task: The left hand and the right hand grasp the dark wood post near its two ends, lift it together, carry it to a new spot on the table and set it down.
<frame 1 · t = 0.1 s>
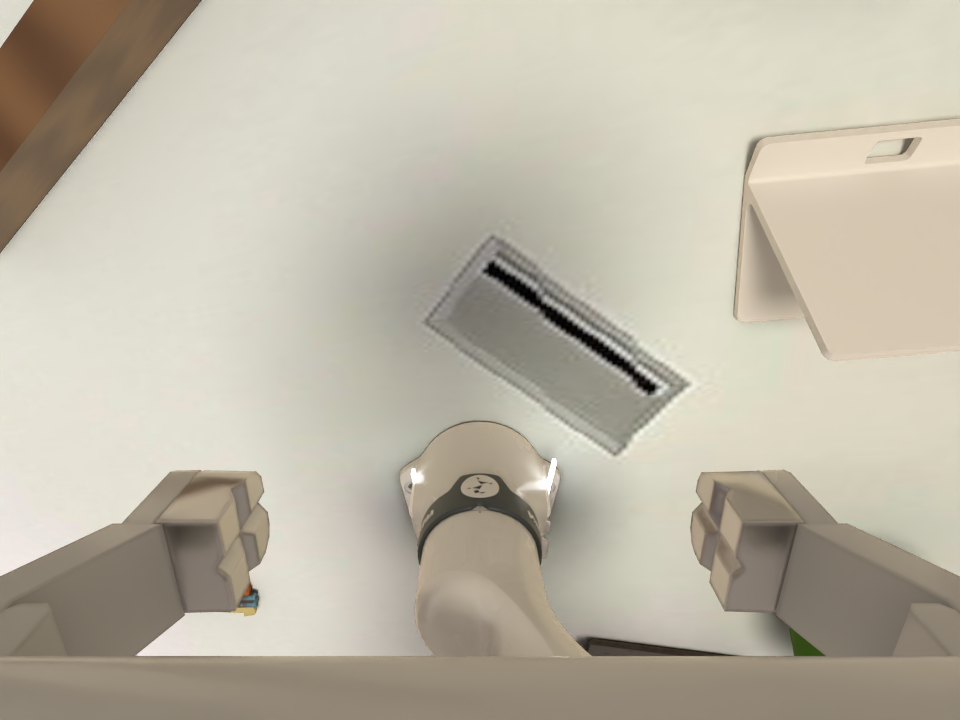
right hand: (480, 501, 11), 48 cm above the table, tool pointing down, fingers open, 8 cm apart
toy gun: (183, 574, 72), on the table
tablet stand: (866, 222, 56), on the table
toy: (648, 696, 80), on the table
vase: (826, 586, 73), on the table
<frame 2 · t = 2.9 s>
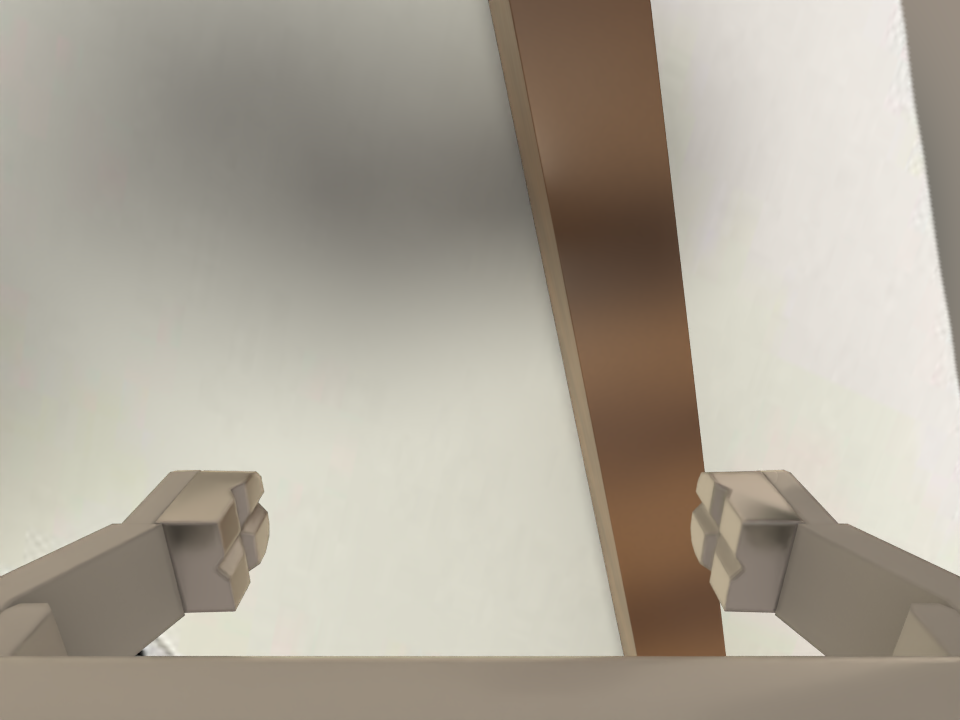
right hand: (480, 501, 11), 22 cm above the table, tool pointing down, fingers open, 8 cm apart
post: (631, 510, 37), on the table
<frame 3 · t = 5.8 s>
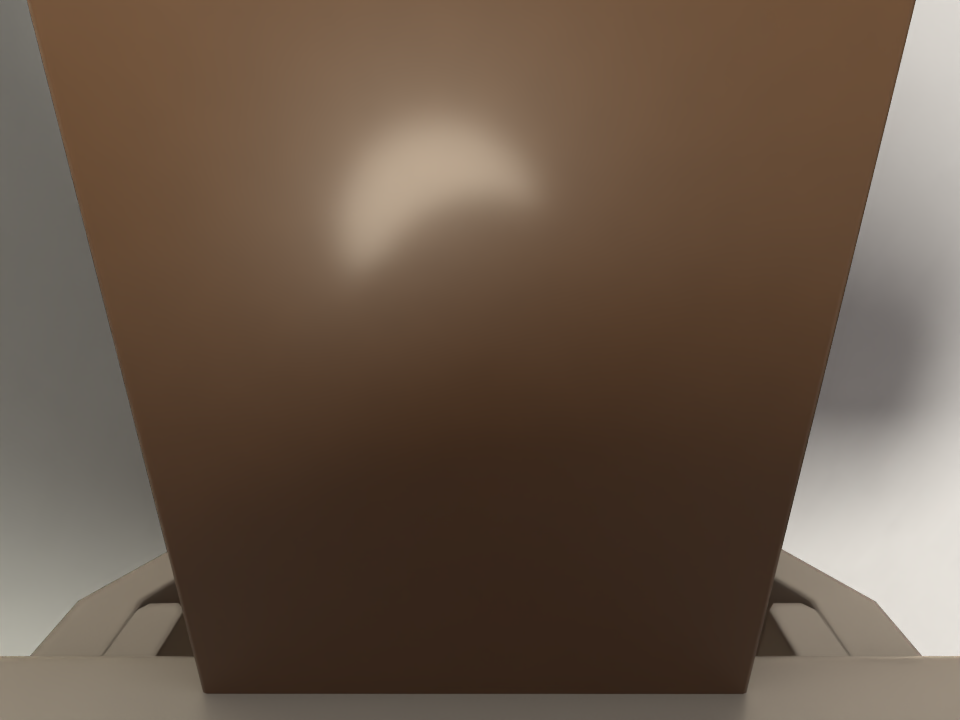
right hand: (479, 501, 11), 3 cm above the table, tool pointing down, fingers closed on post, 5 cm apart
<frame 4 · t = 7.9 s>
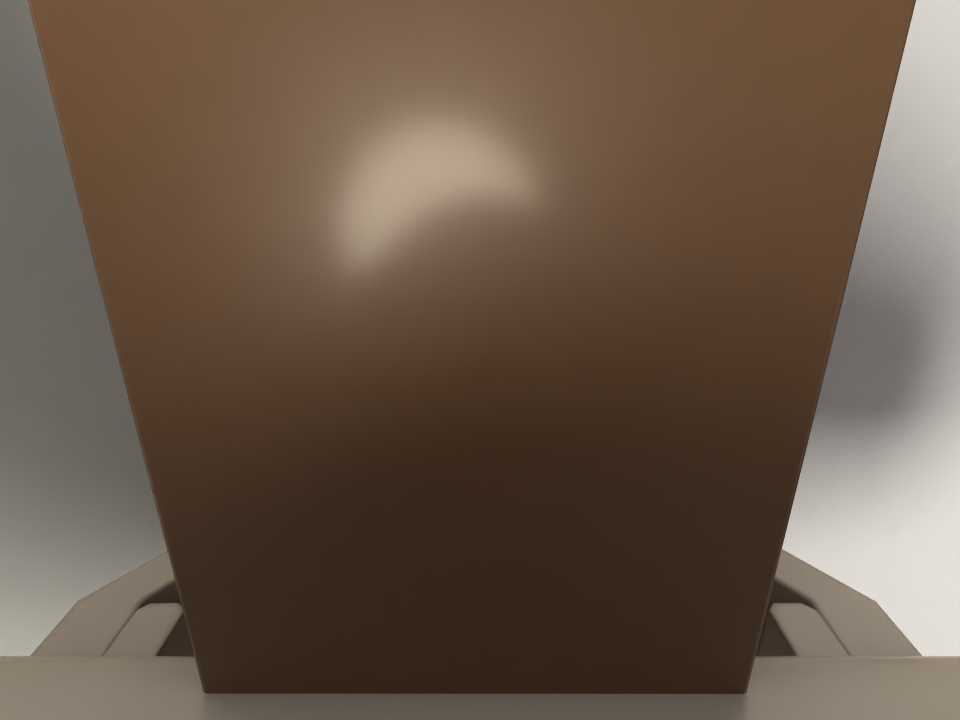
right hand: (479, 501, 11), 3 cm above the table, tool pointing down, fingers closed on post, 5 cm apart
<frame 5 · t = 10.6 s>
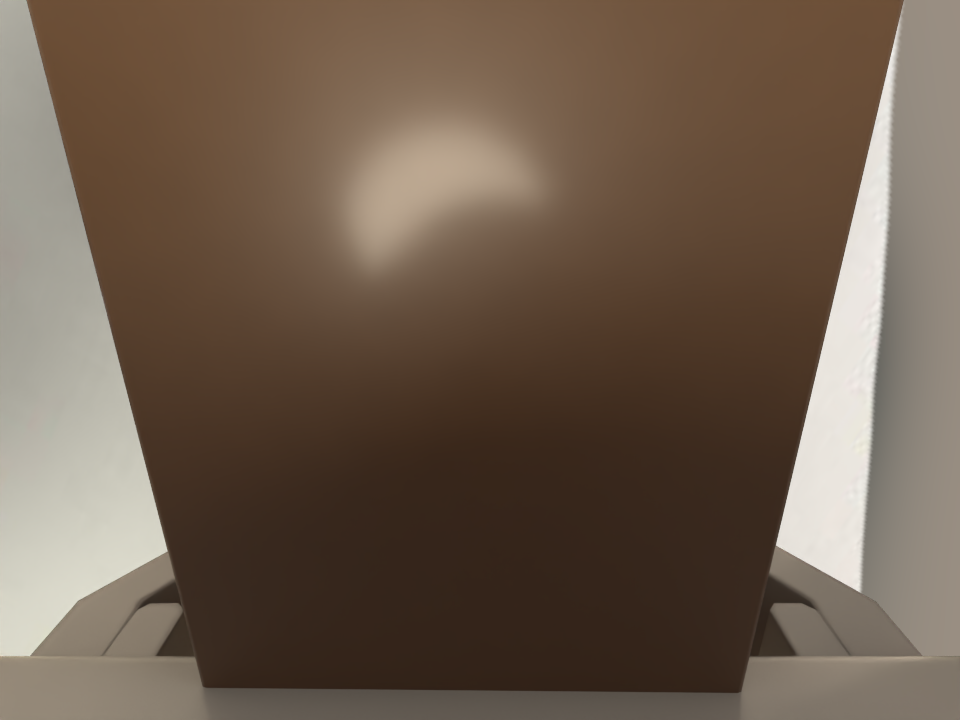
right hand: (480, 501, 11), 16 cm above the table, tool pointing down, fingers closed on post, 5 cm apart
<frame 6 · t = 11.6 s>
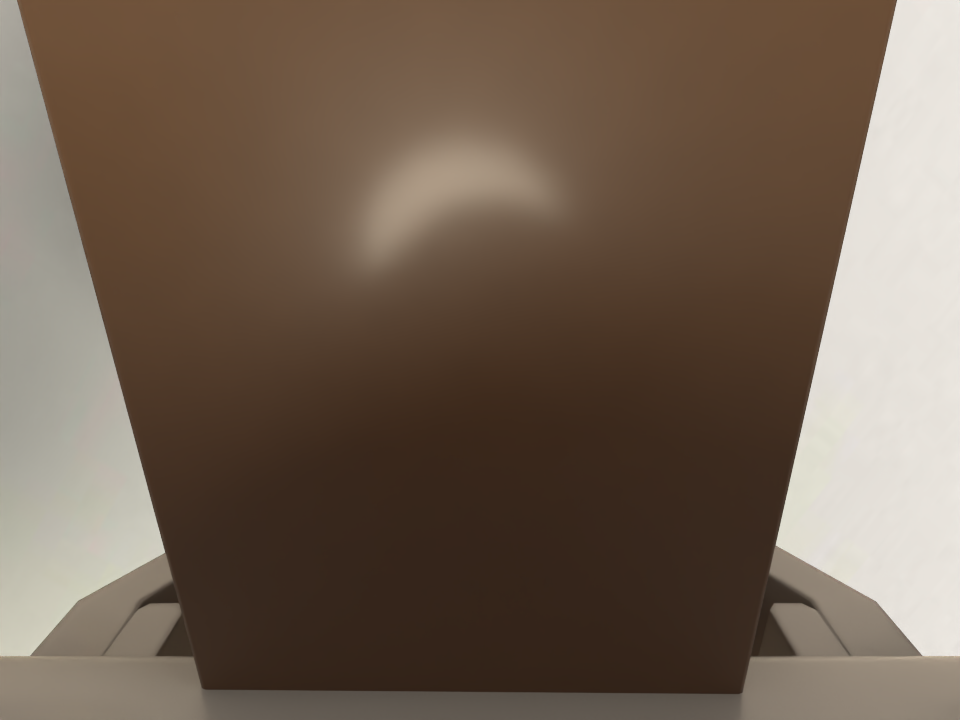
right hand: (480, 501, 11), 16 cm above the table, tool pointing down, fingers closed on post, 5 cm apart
when the left hand's fingers open (4 cm above the table, at t = 15.6 s): post drops 1 cm, on the table.
when the right hand's fingers open (4 cm above the table, at t = 15.6 s): post drops 1 cm, on the table.
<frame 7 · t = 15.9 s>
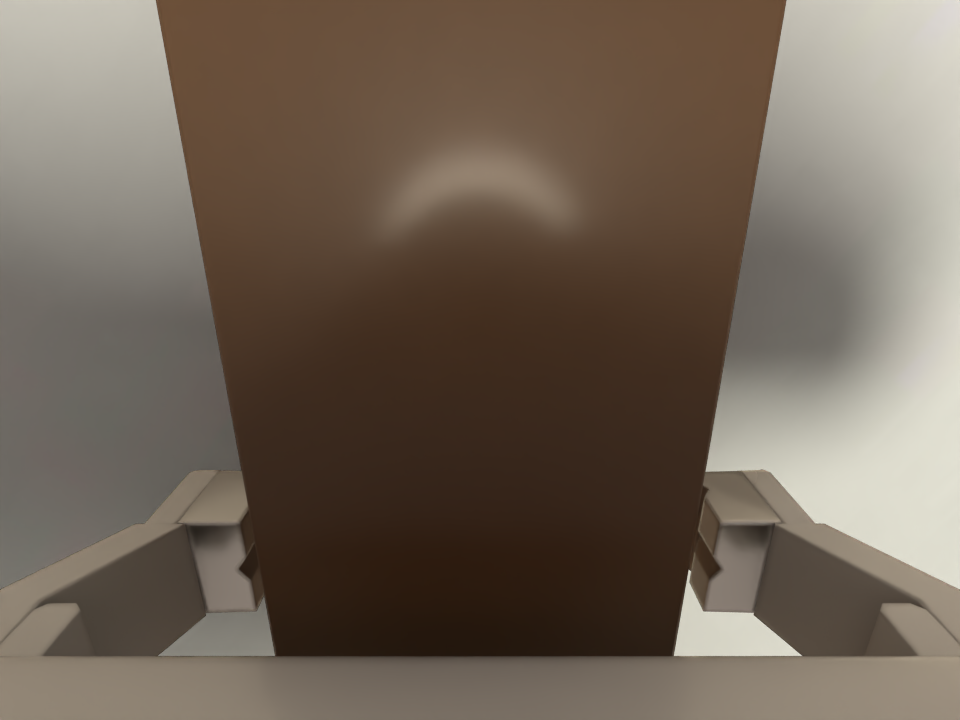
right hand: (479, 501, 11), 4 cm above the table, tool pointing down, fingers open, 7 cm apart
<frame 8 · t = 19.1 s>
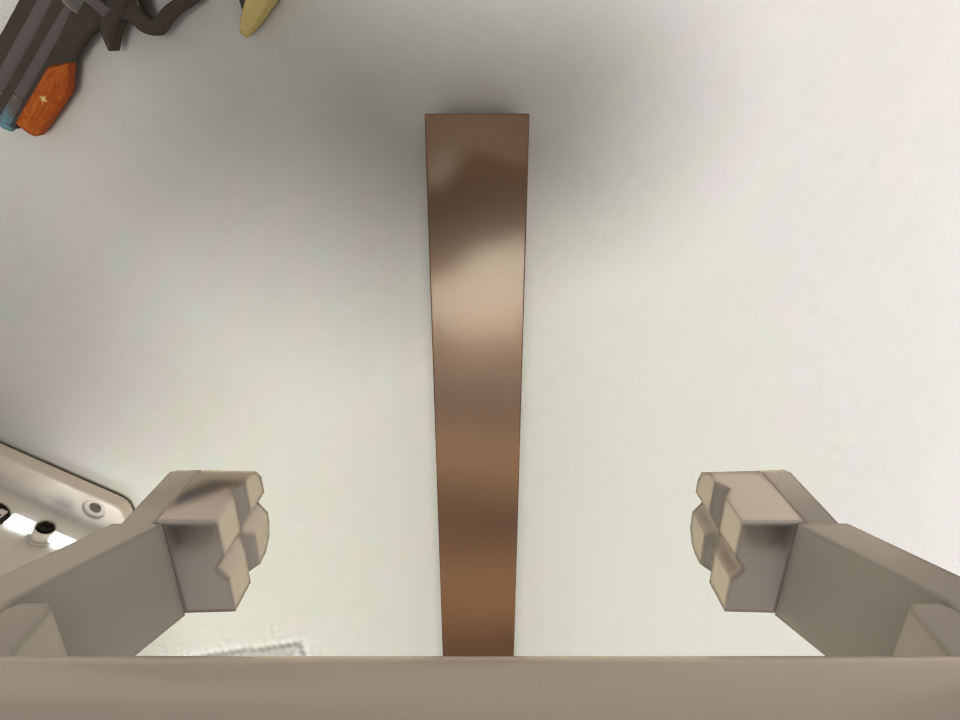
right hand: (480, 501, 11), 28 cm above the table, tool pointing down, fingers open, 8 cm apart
toy gun: (137, 30, 32), on the table
post: (478, 564, 46), on the table
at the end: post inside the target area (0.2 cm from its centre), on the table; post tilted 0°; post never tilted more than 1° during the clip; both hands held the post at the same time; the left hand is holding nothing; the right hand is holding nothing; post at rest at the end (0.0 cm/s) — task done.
